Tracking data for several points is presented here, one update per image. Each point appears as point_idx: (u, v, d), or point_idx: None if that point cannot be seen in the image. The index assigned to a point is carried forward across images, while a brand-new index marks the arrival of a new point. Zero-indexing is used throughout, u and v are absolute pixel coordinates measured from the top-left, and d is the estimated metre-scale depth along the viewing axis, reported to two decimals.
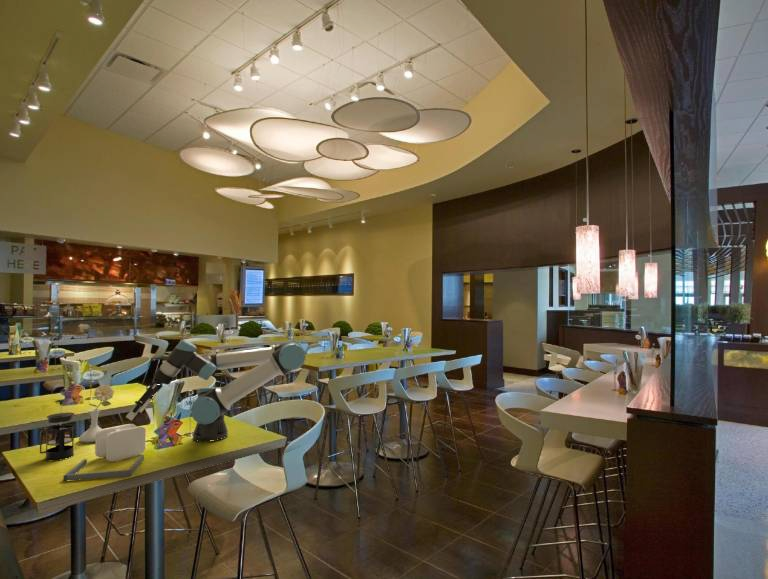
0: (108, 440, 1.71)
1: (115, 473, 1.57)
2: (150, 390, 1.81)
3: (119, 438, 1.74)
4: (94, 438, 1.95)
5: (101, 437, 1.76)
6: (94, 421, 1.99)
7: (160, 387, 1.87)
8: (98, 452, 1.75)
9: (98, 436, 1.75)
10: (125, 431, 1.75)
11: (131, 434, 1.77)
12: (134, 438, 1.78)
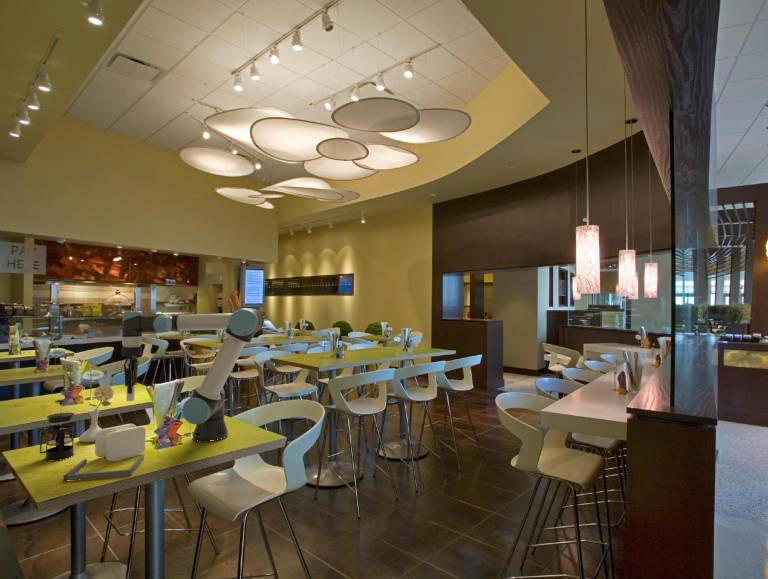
0: (108, 440, 1.71)
1: (115, 473, 1.57)
2: (127, 370, 1.86)
3: (119, 438, 1.74)
4: (94, 438, 1.95)
5: (101, 437, 1.76)
6: (94, 421, 1.99)
7: (134, 361, 1.90)
8: (98, 452, 1.75)
9: (98, 436, 1.75)
10: (125, 431, 1.75)
11: (131, 434, 1.77)
12: (134, 438, 1.78)
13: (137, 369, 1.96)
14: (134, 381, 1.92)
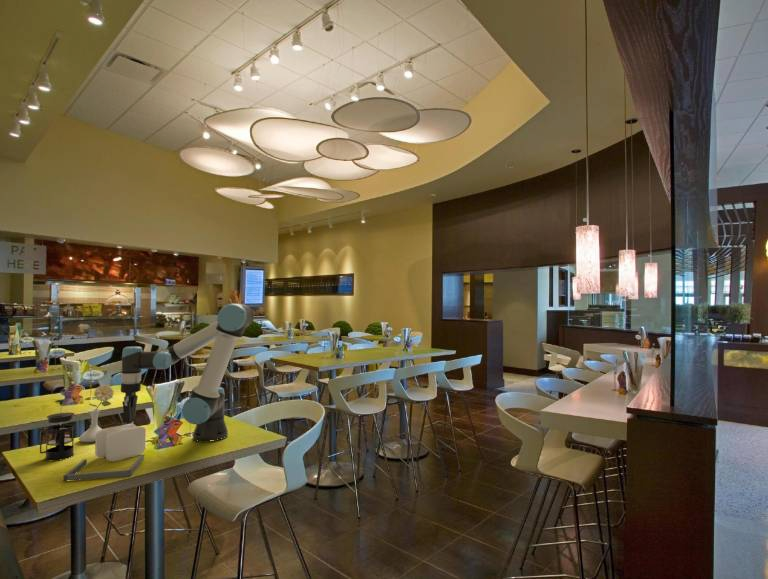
0: (108, 440, 1.71)
1: (115, 473, 1.57)
2: (126, 408, 1.86)
3: (119, 438, 1.74)
4: (94, 438, 1.95)
5: (101, 437, 1.76)
6: (94, 421, 1.99)
7: (133, 398, 1.90)
8: (98, 452, 1.75)
9: (98, 436, 1.75)
10: (125, 431, 1.75)
11: (131, 434, 1.77)
12: (134, 438, 1.78)
13: (136, 404, 1.96)
14: (133, 417, 1.91)
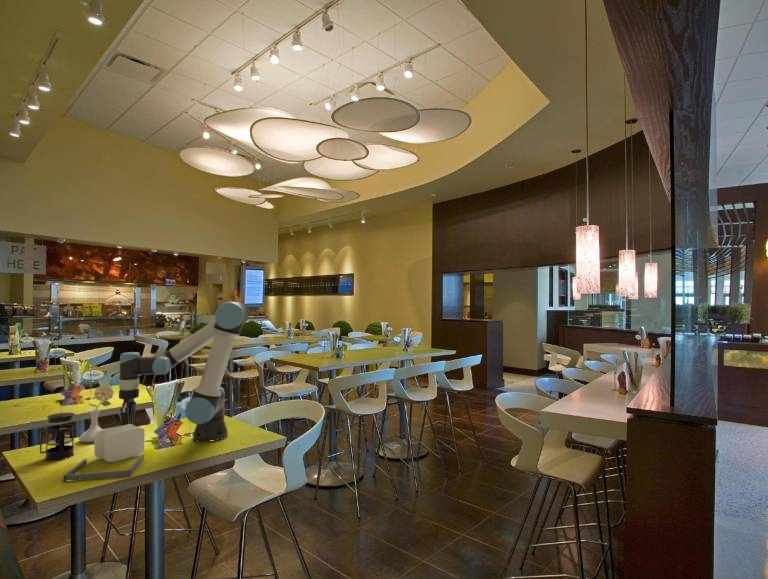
0: (106, 441, 1.69)
1: (115, 473, 1.57)
2: (124, 414, 1.83)
3: (118, 439, 1.72)
4: (94, 438, 1.95)
5: (100, 437, 1.75)
6: (94, 421, 1.99)
7: (132, 404, 1.87)
8: (96, 453, 1.74)
9: (97, 436, 1.74)
10: (123, 432, 1.74)
11: (130, 435, 1.76)
12: (132, 438, 1.76)
13: None
14: None
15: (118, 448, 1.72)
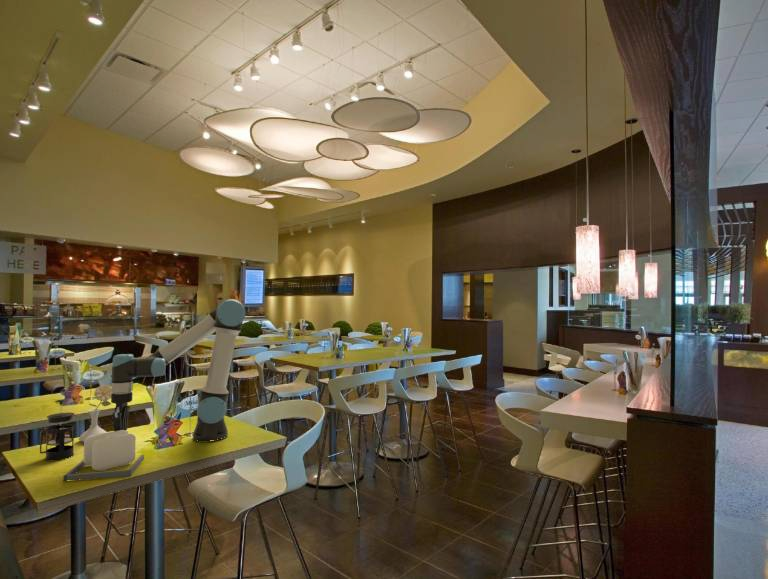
0: (93, 448, 1.61)
1: (115, 473, 1.57)
2: (116, 419, 1.75)
3: (106, 446, 1.63)
4: None
5: (89, 444, 1.66)
6: (94, 421, 1.99)
7: (125, 408, 1.79)
8: (85, 460, 1.66)
9: (86, 443, 1.66)
10: (112, 439, 1.65)
11: (119, 442, 1.67)
12: (122, 446, 1.67)
13: None
14: (124, 429, 1.81)
15: (106, 456, 1.63)
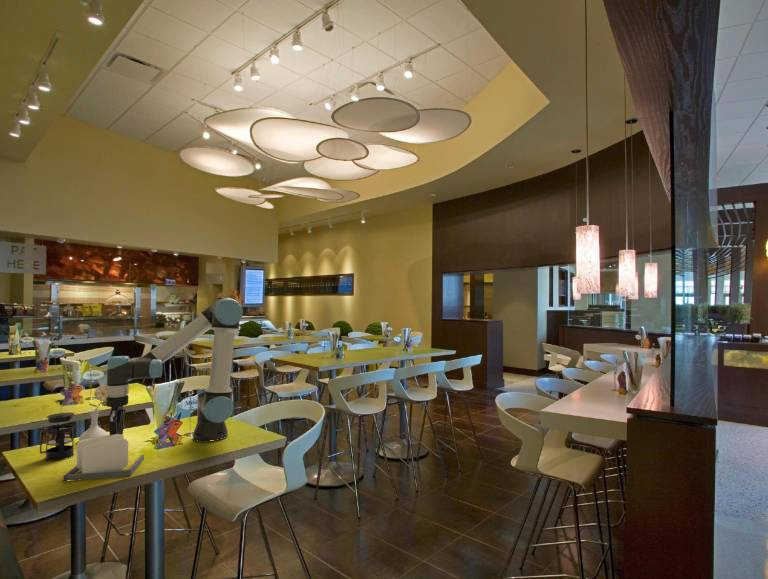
0: (83, 453, 1.55)
1: (115, 473, 1.57)
2: (112, 424, 1.69)
3: (97, 451, 1.58)
4: None
5: (82, 448, 1.61)
6: (94, 421, 1.99)
7: (120, 412, 1.73)
8: (78, 465, 1.61)
9: (78, 447, 1.61)
10: (103, 443, 1.59)
11: (111, 447, 1.60)
12: (114, 451, 1.61)
13: None
14: (120, 434, 1.75)
15: (97, 461, 1.58)
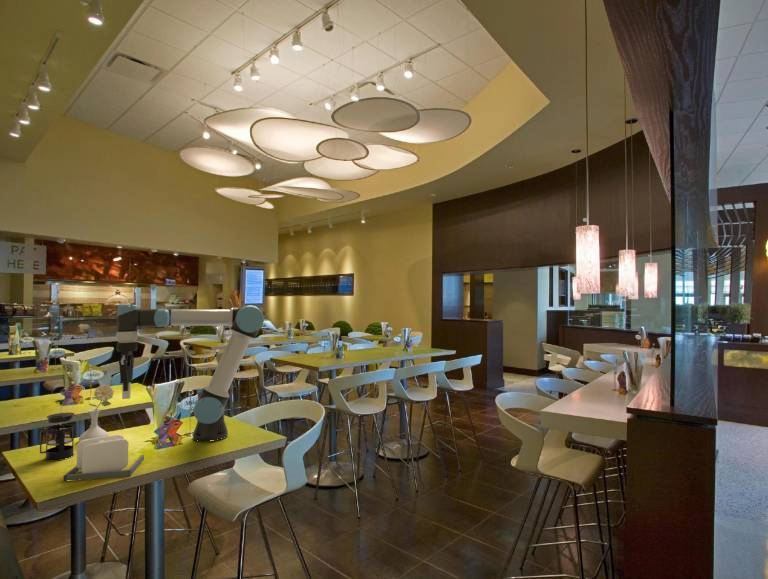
0: (83, 453, 1.55)
1: (115, 473, 1.57)
2: (122, 367, 1.78)
3: (97, 452, 1.58)
4: None
5: (82, 448, 1.61)
6: (94, 421, 1.99)
7: (130, 357, 1.82)
8: (78, 465, 1.61)
9: (78, 447, 1.61)
10: (103, 444, 1.59)
11: (111, 447, 1.60)
12: (114, 451, 1.61)
13: None
14: (130, 378, 1.84)
15: (97, 461, 1.58)
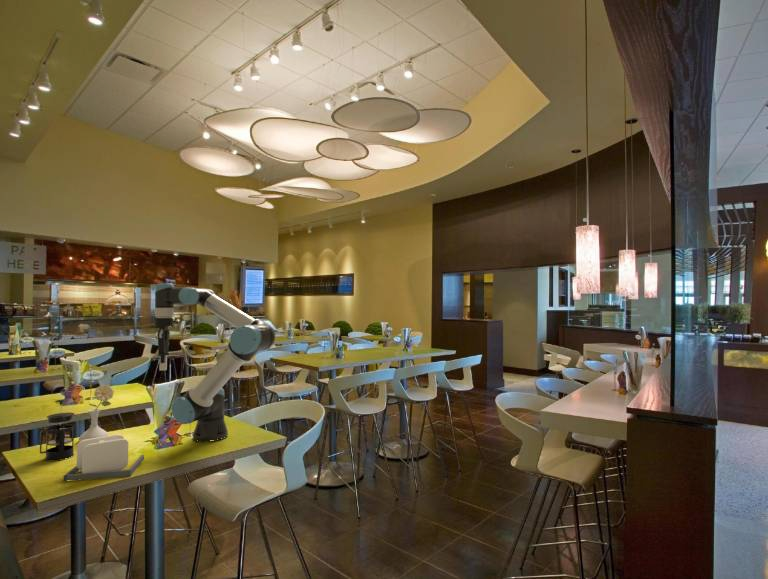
0: (83, 453, 1.55)
1: (115, 473, 1.57)
2: (160, 340, 1.93)
3: (97, 452, 1.58)
4: None
5: (82, 448, 1.61)
6: (94, 421, 1.99)
7: (167, 332, 1.97)
8: (78, 465, 1.61)
9: (78, 447, 1.61)
10: (103, 444, 1.59)
11: (111, 447, 1.60)
12: (114, 451, 1.61)
13: (168, 340, 2.03)
14: (166, 351, 1.98)
15: (97, 461, 1.58)
